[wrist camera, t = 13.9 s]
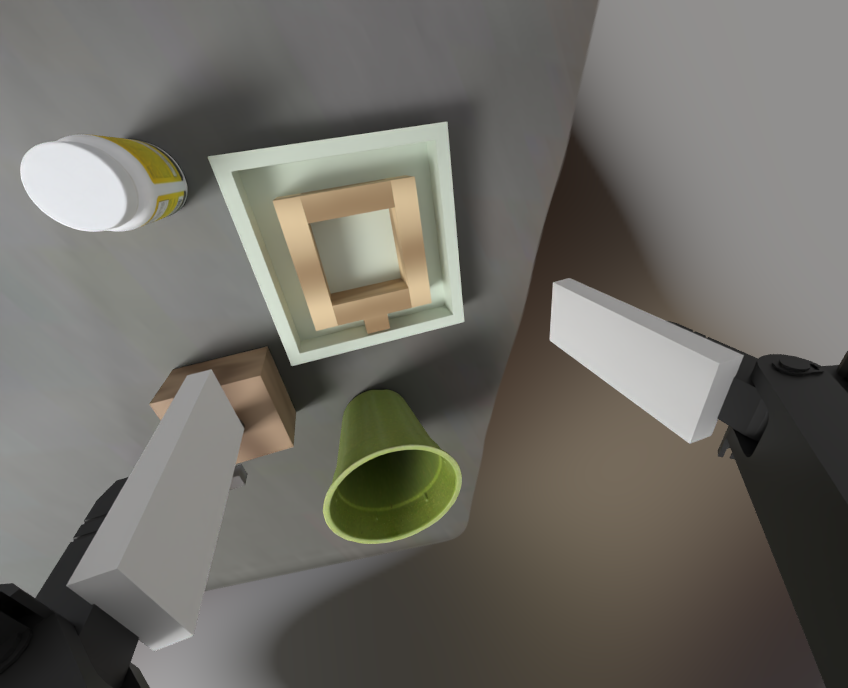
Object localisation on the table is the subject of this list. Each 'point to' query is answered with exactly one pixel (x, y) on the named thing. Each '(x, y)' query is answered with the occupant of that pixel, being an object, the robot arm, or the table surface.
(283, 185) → the tray
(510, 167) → the table surface
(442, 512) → the plant pot
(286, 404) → the wooden block
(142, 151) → the supplement bottle
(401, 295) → the wooden frame with peg
